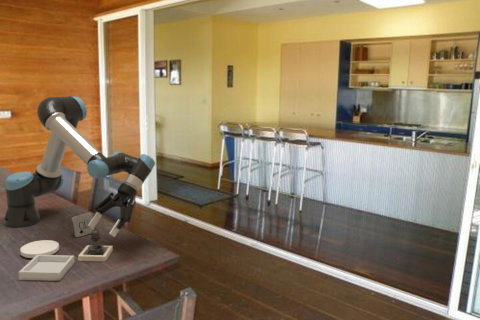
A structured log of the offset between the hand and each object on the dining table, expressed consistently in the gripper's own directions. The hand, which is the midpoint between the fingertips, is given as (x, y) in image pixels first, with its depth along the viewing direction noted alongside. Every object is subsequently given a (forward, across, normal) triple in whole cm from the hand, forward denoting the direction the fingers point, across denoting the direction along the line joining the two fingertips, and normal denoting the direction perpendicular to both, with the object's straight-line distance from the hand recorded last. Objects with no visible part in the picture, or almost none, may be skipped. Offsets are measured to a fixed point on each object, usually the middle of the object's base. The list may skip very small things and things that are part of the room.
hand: (100, 231), depth 164 cm
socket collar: (+8, +1, -6) cm, 10 cm away
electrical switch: (+2, +25, -13) cm, 28 cm away
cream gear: (+17, +20, +3) cm, 27 cm away
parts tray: (+22, +3, +8) cm, 23 cm away
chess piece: (+9, +1, -6) cm, 10 cm away
